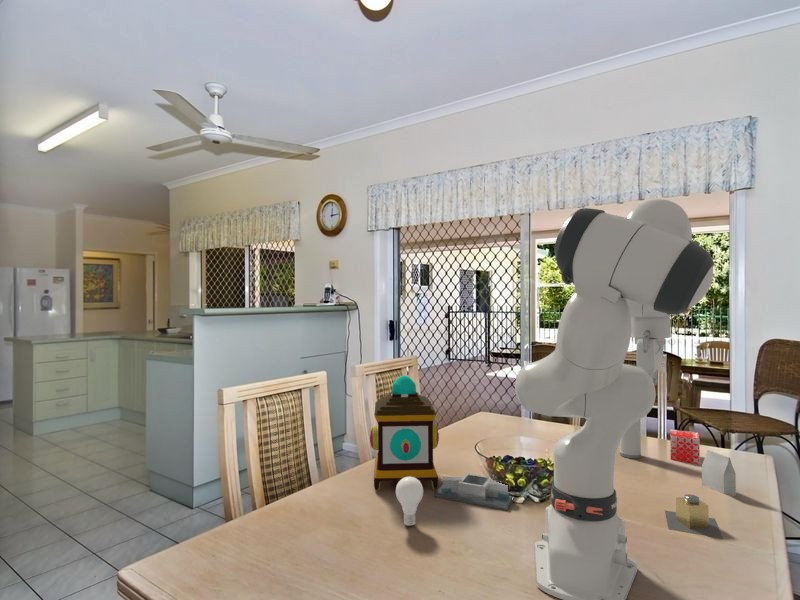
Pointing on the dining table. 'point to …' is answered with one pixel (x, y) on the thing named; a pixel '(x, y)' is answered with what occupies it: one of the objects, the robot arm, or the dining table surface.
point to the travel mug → (631, 442)
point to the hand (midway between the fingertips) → (650, 388)
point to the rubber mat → (678, 526)
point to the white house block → (719, 473)
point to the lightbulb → (409, 497)
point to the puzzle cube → (684, 446)
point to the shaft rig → (475, 491)
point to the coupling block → (692, 512)
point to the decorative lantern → (404, 435)
